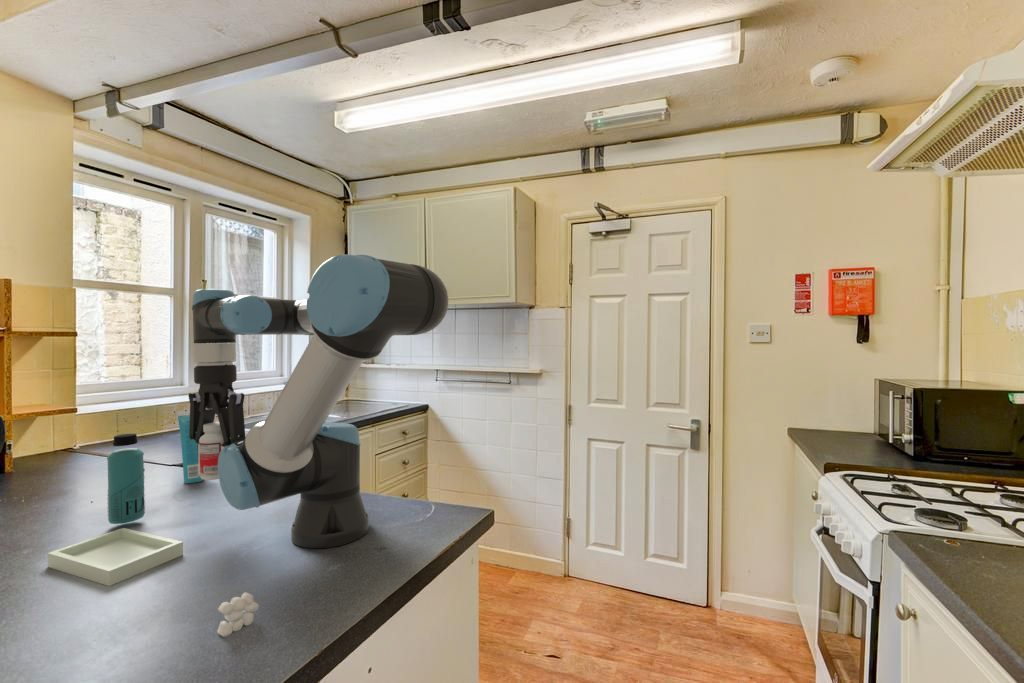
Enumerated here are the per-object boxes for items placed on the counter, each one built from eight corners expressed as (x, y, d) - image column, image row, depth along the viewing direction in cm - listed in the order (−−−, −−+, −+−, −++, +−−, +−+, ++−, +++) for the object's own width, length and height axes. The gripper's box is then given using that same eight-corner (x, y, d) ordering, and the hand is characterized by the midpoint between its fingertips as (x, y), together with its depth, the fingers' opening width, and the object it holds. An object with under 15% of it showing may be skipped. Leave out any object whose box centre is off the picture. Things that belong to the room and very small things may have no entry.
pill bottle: (229, 470, 103) (228, 419, 103) (239, 475, 98) (237, 422, 98) (196, 477, 98) (195, 424, 98) (204, 482, 94) (203, 427, 94)
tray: (183, 554, 89) (182, 541, 89) (109, 586, 78) (109, 571, 78) (123, 540, 96) (123, 527, 96) (47, 566, 85) (47, 553, 85)
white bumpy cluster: (221, 638, 64) (223, 605, 65) (215, 635, 65) (218, 602, 65) (257, 623, 68) (259, 591, 69) (251, 620, 69) (254, 588, 69)
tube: (202, 476, 139) (201, 411, 139) (212, 478, 137) (211, 412, 137) (175, 483, 133) (174, 415, 133) (184, 485, 131) (184, 416, 130)
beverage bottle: (124, 532, 100) (122, 438, 99) (98, 530, 101) (97, 436, 101) (153, 520, 106) (152, 431, 106) (129, 518, 107) (128, 430, 107)
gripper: (264, 363, 98) (266, 474, 98) (201, 363, 105) (203, 466, 105) (231, 365, 91) (233, 484, 91) (166, 365, 98) (168, 475, 98)
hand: (217, 474), depth 98 cm, fingers closed on pill bottle, 6 cm apart
